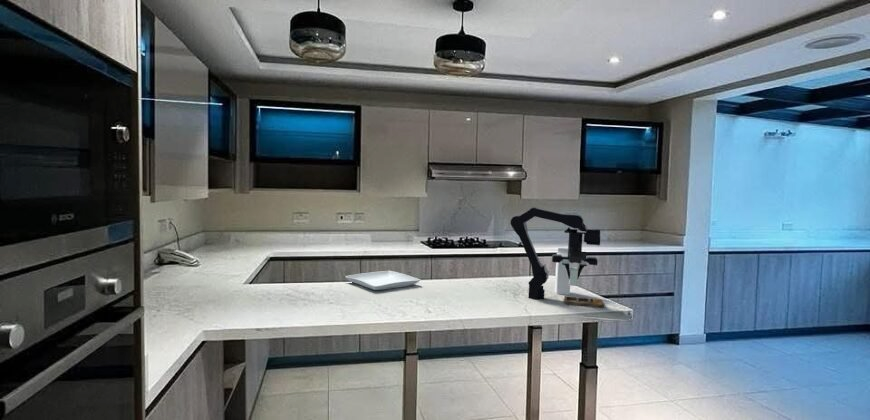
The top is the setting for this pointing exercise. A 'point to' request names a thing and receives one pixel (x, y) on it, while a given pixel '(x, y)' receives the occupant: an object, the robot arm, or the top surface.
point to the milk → (562, 275)
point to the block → (573, 276)
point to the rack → (583, 302)
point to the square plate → (382, 280)
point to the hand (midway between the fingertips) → (573, 279)
